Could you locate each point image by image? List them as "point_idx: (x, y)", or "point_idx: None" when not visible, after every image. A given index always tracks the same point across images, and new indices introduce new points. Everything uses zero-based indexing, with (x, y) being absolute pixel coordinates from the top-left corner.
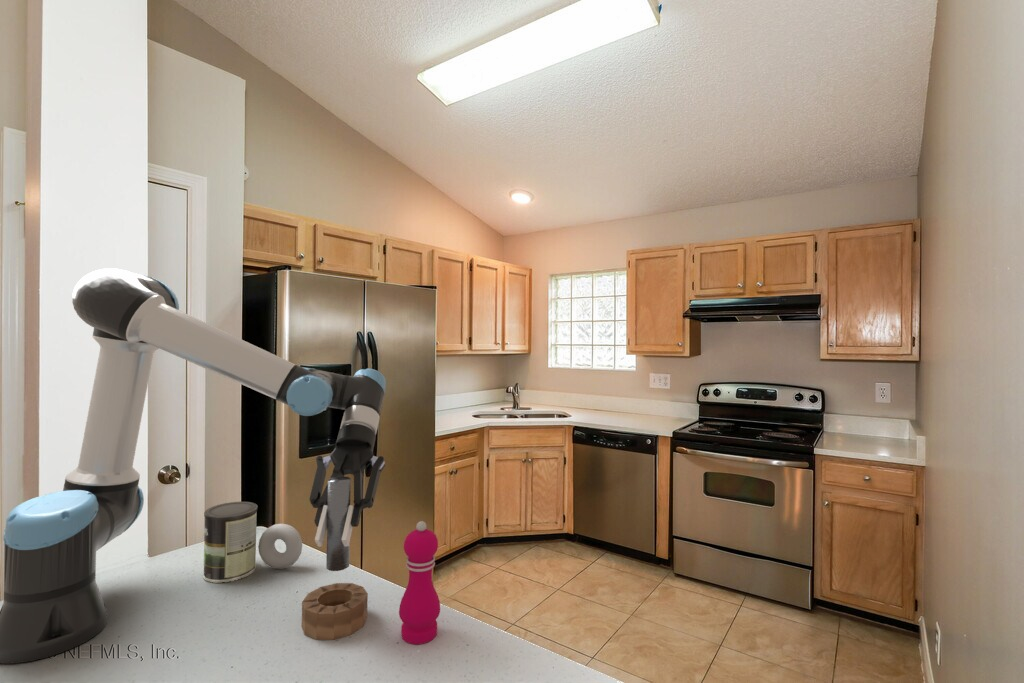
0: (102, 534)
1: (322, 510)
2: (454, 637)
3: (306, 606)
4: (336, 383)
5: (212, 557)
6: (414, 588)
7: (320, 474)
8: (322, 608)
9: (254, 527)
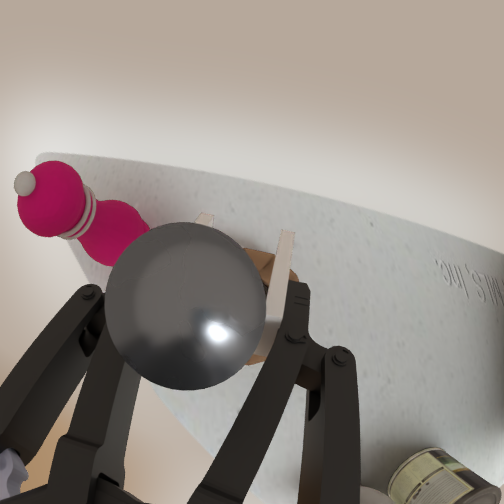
0: None
1: (284, 300)
2: None
3: None
4: None
5: (457, 461)
6: (103, 202)
7: (328, 493)
8: (266, 270)
9: None
